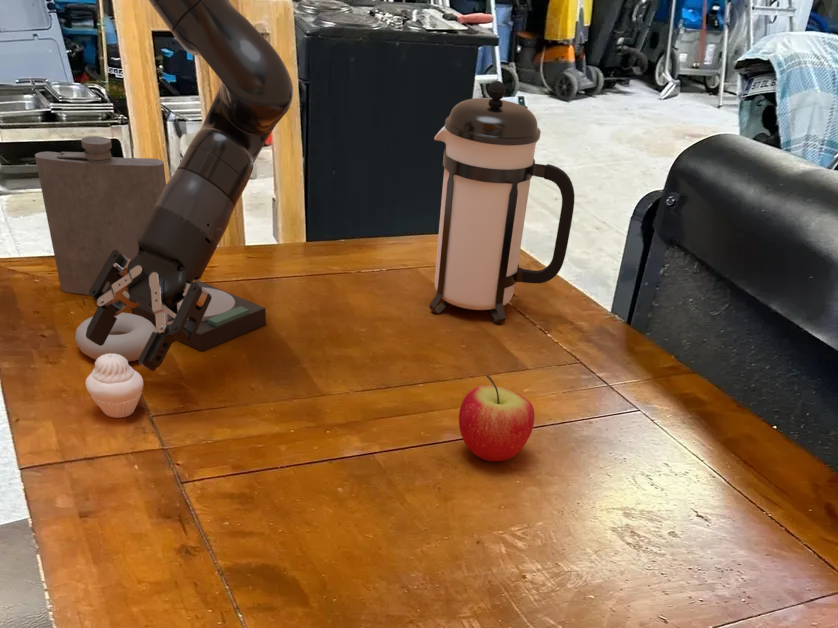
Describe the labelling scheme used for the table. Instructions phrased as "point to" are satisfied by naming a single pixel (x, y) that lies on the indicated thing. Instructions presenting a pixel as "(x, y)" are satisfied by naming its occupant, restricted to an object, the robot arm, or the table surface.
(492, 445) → the apple
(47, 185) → the hip flask
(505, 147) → the coffee press
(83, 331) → the donut
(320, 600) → the table surface
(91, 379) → the muffin
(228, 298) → the scale
